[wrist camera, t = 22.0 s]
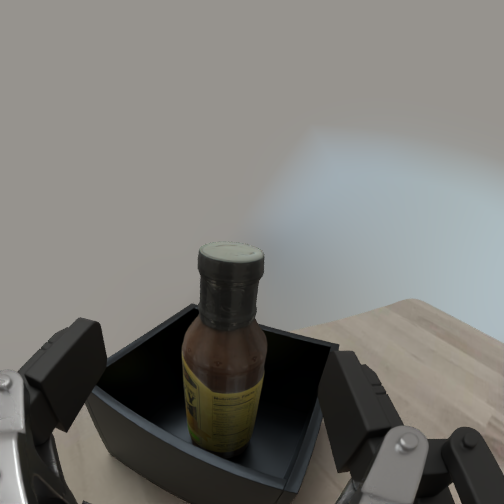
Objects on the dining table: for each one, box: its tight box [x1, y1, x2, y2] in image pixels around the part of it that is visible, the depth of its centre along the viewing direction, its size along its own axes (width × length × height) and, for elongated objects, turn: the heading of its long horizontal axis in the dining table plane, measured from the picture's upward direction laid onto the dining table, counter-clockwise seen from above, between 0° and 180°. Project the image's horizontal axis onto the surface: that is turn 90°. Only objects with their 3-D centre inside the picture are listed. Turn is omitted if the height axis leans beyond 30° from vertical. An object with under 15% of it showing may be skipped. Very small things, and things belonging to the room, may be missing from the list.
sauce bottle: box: [182, 242, 267, 459], centre depth 19 cm, size 6×6×20 cm
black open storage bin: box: [85, 304, 339, 504], centre depth 21 cm, size 17×17×11 cm
